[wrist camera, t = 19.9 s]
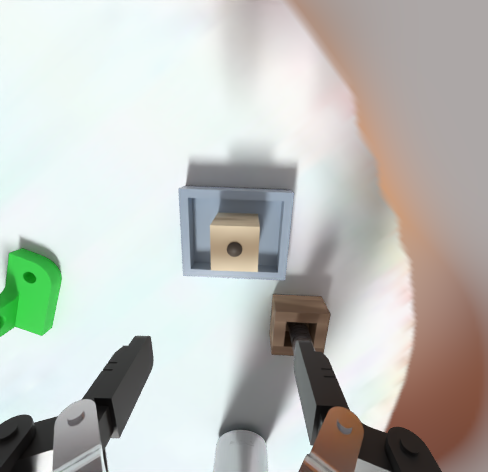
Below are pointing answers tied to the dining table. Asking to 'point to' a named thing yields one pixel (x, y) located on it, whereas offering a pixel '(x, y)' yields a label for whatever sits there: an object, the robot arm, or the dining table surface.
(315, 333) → the wooden square socket
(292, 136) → the dining table surface
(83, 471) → the robot arm
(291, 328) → the rod
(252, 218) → the block
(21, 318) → the mechanical part
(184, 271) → the tray
